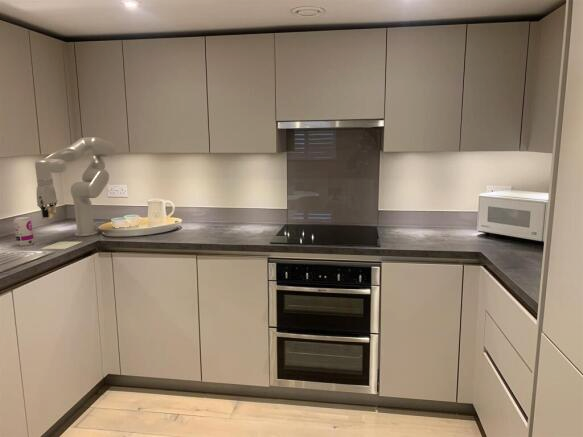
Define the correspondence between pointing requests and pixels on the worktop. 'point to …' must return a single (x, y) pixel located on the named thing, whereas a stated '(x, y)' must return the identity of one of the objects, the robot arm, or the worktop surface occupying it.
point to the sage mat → (61, 245)
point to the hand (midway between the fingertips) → (49, 216)
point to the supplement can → (23, 231)
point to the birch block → (50, 212)
